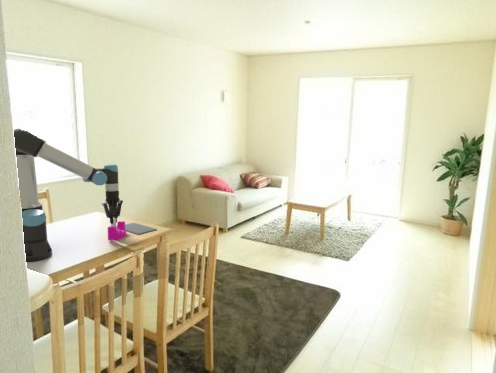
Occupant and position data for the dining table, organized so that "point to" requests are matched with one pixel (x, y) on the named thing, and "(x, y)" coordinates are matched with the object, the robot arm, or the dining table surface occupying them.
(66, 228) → the dining table surface
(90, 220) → the dining table surface
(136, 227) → the pad
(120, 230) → the magenta bearing cap
